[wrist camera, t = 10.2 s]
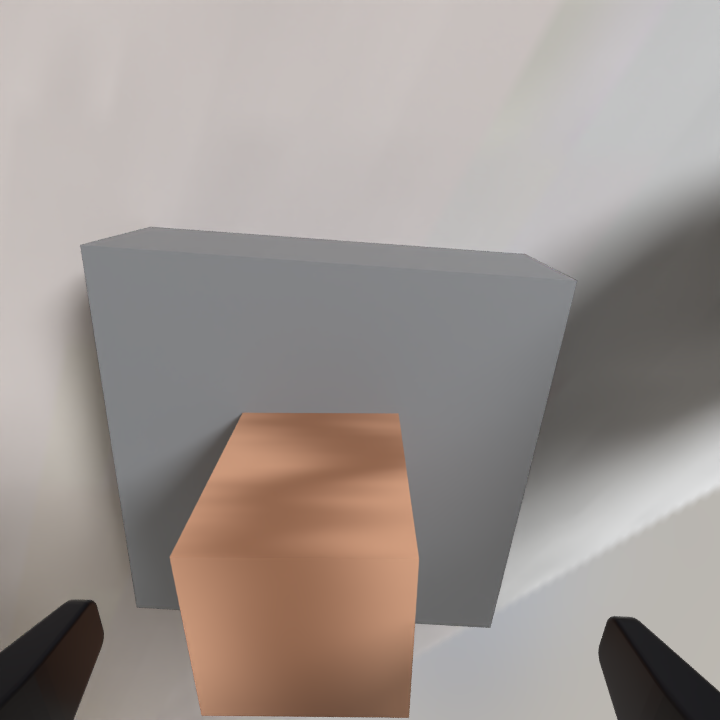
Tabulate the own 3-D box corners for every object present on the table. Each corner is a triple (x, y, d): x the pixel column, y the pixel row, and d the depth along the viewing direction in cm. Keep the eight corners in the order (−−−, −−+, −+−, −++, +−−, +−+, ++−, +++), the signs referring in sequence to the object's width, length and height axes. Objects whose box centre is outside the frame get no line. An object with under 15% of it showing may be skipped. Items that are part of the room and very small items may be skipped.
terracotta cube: (398, 413, 15) (419, 559, 9) (394, 535, 17) (408, 717, 11) (242, 412, 15) (169, 557, 9) (255, 534, 17) (201, 715, 11)
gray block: (521, 252, 18) (577, 280, 13) (465, 535, 23) (490, 627, 18) (155, 225, 17) (80, 245, 13) (183, 518, 23) (136, 607, 18)
